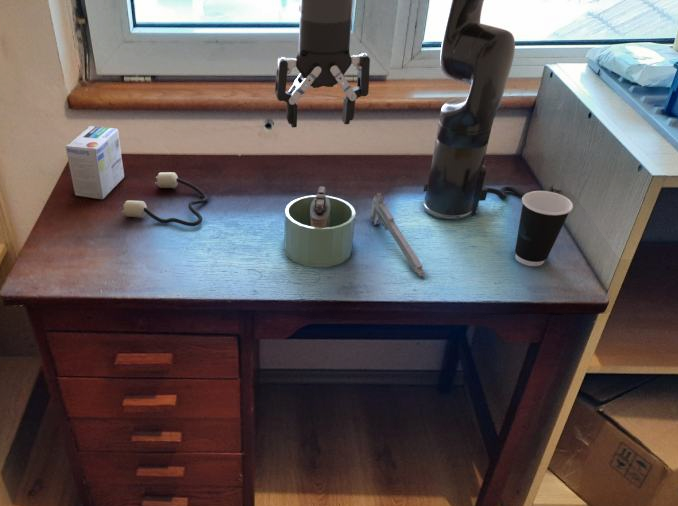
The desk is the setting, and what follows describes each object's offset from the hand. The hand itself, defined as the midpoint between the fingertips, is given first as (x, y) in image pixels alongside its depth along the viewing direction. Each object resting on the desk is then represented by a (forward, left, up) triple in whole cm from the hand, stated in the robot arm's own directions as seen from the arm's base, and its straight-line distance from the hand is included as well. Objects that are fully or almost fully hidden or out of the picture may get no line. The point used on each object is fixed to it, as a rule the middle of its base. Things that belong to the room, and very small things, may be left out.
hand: (319, 124), depth 105 cm
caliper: (-15, +3, -22) cm, 27 cm away
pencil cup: (-1, +2, -22) cm, 22 cm away
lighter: (0, +2, -21) cm, 22 cm away
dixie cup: (-37, +10, -22) cm, 44 cm away
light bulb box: (+39, -28, -22) cm, 53 cm away
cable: (+24, -18, -22) cm, 38 cm away
